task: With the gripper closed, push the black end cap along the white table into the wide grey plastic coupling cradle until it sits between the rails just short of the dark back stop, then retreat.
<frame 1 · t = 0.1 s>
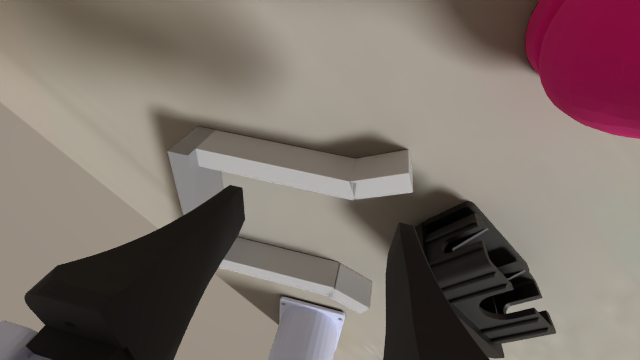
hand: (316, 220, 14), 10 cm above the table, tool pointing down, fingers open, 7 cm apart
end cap: (460, 248, 27), on the table
pepper mill: (593, 21, 16), on the table
cradle: (284, 210, 28), on the table
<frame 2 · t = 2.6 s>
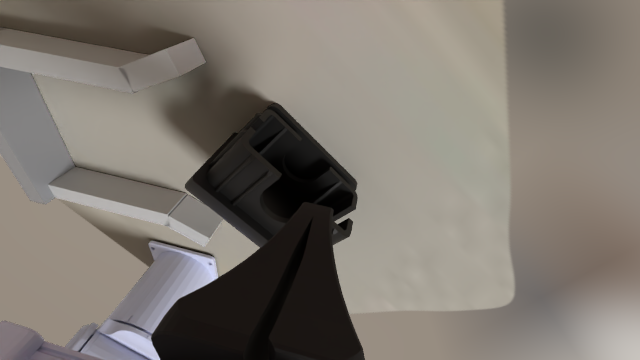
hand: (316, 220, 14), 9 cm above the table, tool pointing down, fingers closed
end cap: (291, 166, 25), on the table
cradle: (112, 129, 26), on the table
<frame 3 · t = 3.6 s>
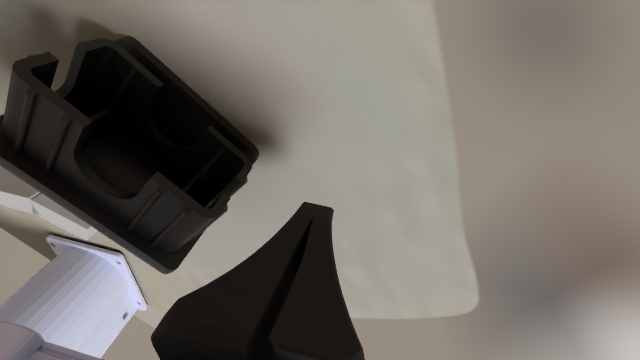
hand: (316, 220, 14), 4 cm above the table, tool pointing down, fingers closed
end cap: (176, 131, 19), on the table
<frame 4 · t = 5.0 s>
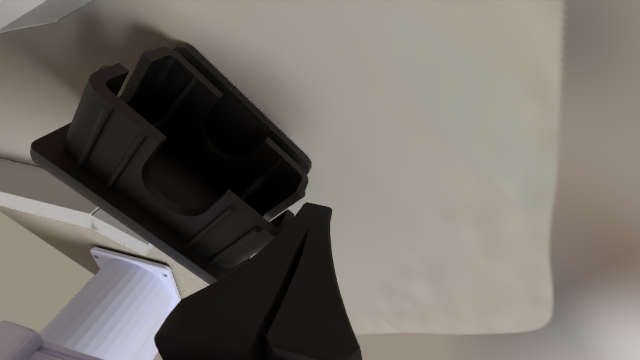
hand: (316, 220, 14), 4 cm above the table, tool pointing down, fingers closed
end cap: (223, 141, 18), on the table, touching gripper
cradle: (14, 102, 20), on the table
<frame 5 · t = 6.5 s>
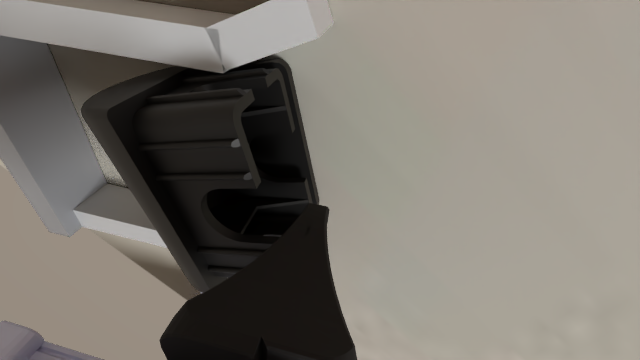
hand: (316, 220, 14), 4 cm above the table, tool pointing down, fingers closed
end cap: (251, 143, 18), on the table, touching gripper
cradle: (164, 133, 19), on the table
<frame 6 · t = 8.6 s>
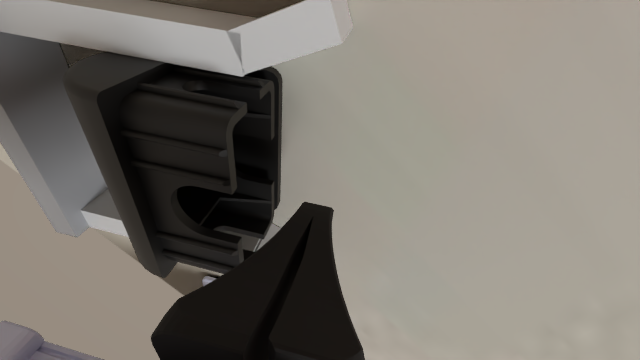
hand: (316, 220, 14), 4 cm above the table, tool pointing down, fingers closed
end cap: (225, 134, 18), on the table
cradle: (175, 134, 18), on the table
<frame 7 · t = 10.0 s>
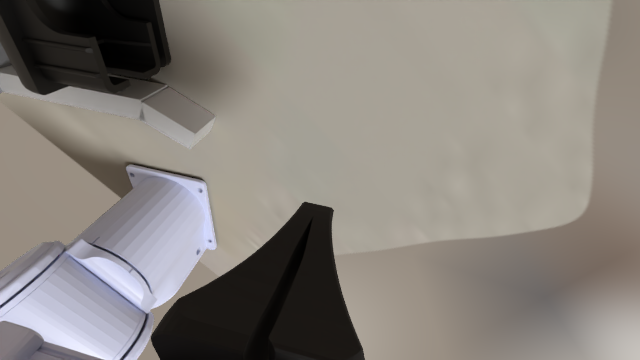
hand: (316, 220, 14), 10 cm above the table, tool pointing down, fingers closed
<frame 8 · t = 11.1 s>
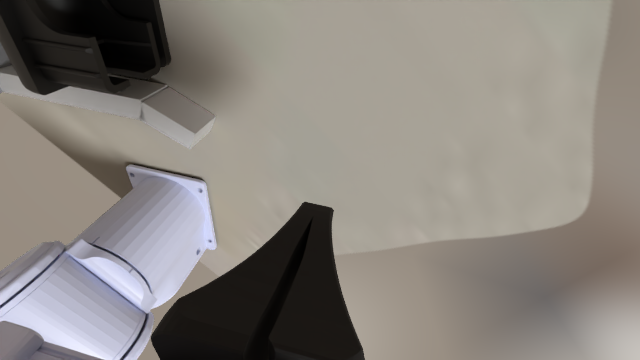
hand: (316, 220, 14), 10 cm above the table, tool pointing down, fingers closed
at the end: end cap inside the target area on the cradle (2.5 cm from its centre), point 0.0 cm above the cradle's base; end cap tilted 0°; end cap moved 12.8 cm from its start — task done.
